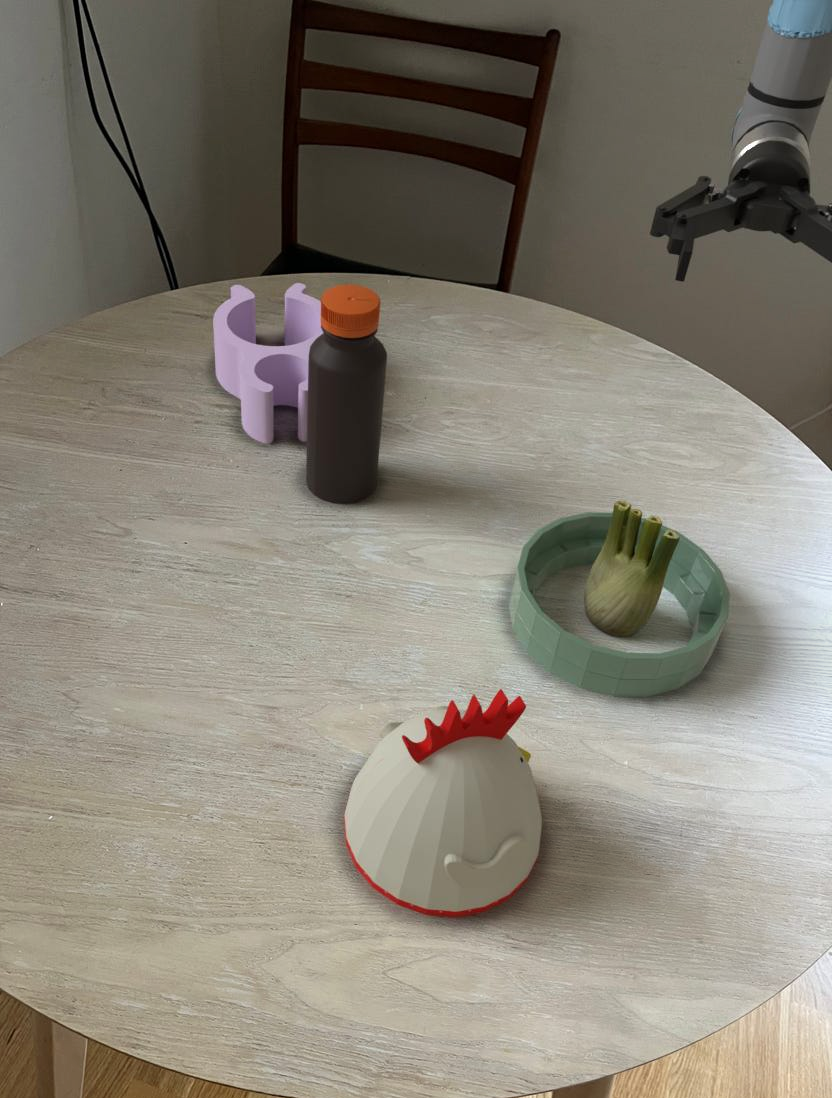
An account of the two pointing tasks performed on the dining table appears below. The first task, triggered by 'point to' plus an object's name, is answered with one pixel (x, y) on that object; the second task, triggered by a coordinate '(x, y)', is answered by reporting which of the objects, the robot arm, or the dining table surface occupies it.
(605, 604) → the fennel bulb
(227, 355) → the clip
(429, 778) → the kitchen timer
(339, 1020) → the dining table surface
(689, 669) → the green faceted ring
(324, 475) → the bottle
